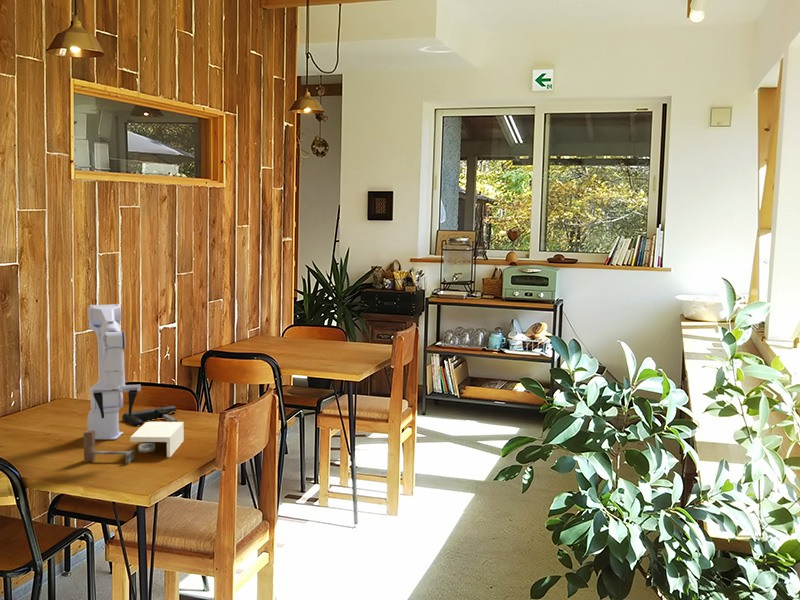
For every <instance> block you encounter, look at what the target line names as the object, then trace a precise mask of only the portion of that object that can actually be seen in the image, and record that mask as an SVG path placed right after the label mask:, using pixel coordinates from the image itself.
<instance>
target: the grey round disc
mask: <svg viewBox="0 0 800 600" xmlns="http://www.w3.org/2000/svg"><path fill="white" fill-rule="evenodd" d="M155 451H156V443H155V442H141V443H140V444H138V452H139V453H141V452H143V454H149V453H148V452H150V453H153V452H155ZM146 452H147V453H146Z"/></svg>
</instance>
